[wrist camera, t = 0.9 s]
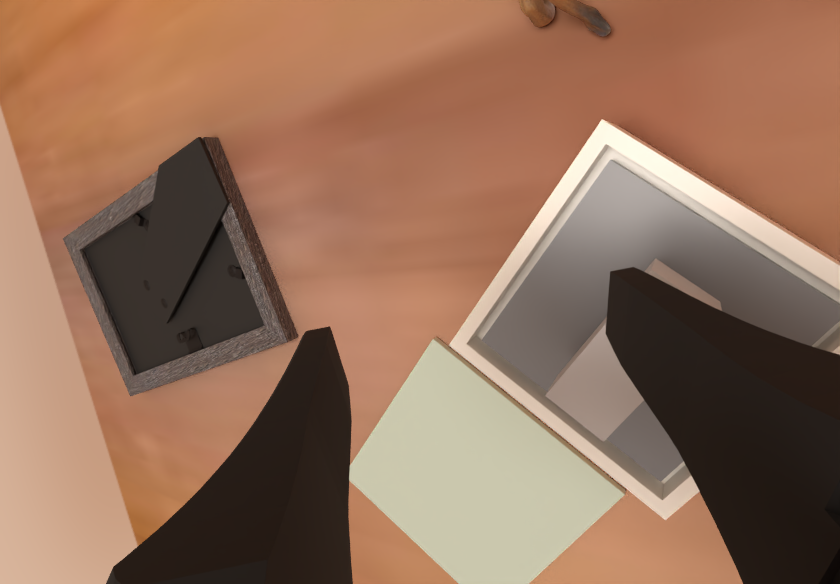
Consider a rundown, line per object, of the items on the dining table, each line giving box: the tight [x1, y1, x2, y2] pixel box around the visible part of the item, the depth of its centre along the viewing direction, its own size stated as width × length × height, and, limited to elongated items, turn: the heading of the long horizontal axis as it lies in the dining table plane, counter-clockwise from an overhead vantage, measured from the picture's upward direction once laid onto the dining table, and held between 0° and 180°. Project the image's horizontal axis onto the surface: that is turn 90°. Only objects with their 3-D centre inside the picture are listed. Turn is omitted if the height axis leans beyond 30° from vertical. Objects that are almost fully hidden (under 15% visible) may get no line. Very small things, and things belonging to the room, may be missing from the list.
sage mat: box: [349, 337, 626, 584], centre depth 29 cm, size 12×12×1 cm
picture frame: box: [63, 137, 298, 396], centre depth 37 cm, size 13×2×18 cm
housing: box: [449, 119, 840, 520], centre depth 21 cm, size 11×11×4 cm
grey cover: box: [482, 160, 840, 482], centre depth 18 cm, size 9×9×4 cm
